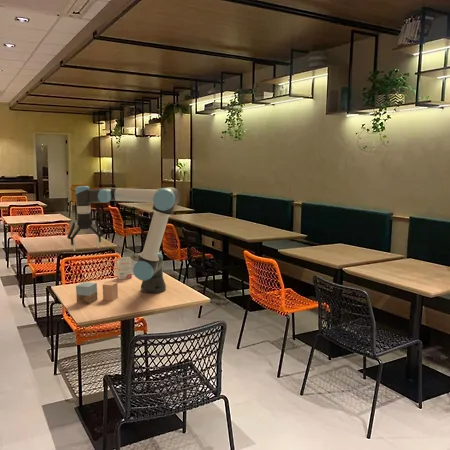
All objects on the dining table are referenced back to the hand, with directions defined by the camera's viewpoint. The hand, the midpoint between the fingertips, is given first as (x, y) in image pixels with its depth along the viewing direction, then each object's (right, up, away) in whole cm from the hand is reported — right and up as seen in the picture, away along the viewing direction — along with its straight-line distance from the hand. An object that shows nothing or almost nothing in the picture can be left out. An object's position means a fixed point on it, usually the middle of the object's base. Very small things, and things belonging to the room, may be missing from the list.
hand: (86, 249), depth 260 cm
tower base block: (+4, -29, -11) cm, 31 cm away
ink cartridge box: (+13, -21, +39) cm, 46 cm away
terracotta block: (+16, -28, -6) cm, 32 cm away
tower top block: (+4, -24, -12) cm, 27 cm away
